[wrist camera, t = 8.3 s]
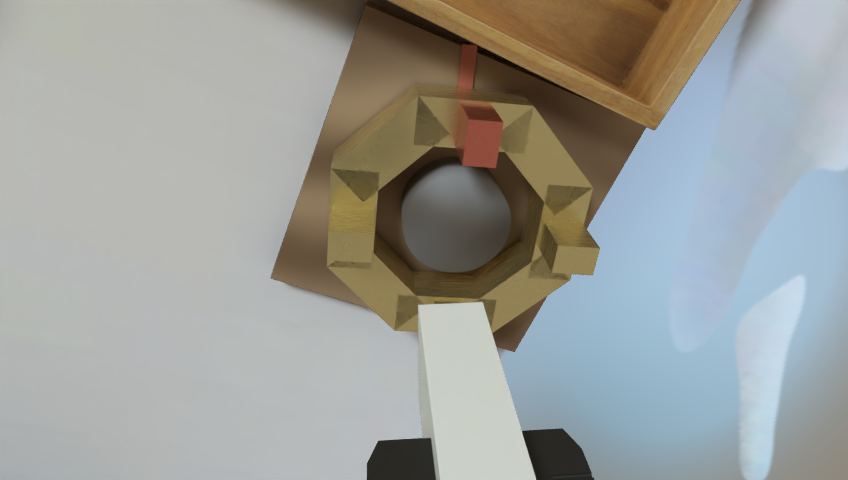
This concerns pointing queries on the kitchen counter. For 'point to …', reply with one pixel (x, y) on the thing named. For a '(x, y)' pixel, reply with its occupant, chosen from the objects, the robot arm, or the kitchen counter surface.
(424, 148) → the ring nut
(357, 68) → the walnut base
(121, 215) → the kitchen counter surface
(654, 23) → the tray
